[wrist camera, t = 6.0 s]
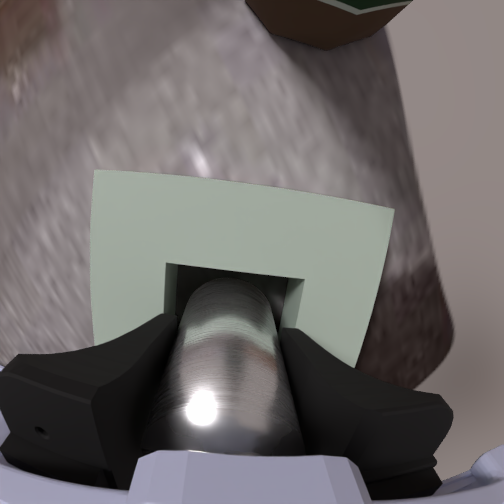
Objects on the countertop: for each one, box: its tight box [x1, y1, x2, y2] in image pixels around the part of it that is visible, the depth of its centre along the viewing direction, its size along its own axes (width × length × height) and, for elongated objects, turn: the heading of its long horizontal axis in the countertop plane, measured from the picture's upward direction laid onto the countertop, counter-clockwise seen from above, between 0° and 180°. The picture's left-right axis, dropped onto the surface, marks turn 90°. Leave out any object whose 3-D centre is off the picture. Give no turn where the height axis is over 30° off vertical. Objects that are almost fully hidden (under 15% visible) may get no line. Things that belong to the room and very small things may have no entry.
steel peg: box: [141, 278, 305, 456], centre depth 10 cm, size 4×4×8 cm
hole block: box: [90, 170, 395, 368], centre depth 14 cm, size 12×12×3 cm
